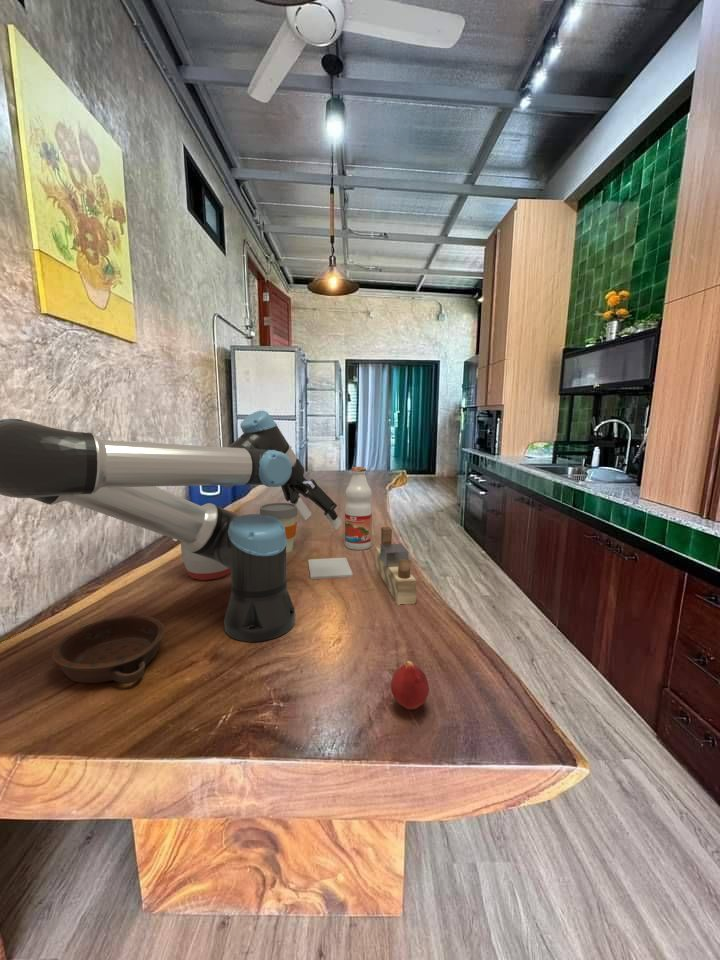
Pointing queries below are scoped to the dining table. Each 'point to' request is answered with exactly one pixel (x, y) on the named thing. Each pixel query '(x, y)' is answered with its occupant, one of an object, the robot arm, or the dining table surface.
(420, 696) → the onion
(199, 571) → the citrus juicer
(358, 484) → the fruit juice
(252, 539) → the robot arm
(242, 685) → the dining table surface
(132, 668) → the dish
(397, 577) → the wooden peg base
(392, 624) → the dining table surface
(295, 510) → the reusable coffee cup
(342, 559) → the mat
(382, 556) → the lever cap
